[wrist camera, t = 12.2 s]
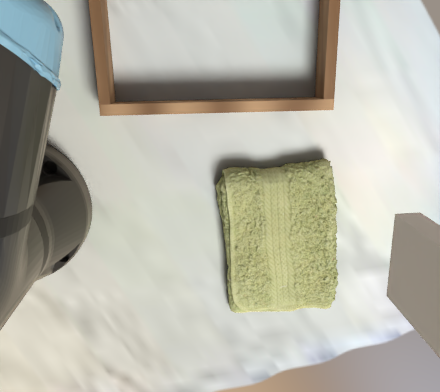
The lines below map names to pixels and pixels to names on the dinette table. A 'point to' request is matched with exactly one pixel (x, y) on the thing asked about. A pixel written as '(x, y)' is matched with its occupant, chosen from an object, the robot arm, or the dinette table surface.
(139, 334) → the dinette table surface
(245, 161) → the dinette table surface
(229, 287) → the washcloth
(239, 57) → the dinette table surface
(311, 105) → the wooden frame
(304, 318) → the dinette table surface
